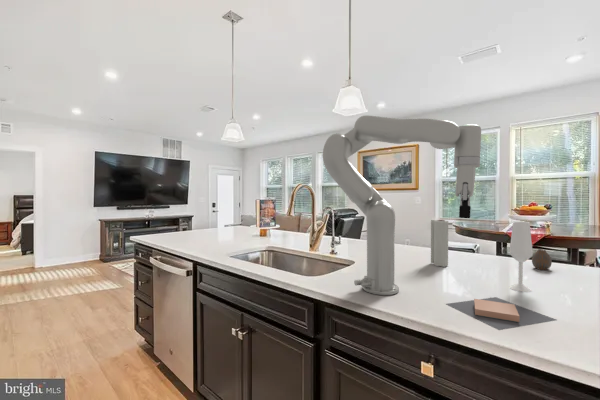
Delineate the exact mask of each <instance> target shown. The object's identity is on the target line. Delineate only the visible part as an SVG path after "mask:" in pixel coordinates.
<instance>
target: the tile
mask: <svg viewBox="0 0 600 400" xmlns="http://www.w3.org/2000/svg"><path fill="white" fill-rule="evenodd" d="M480 299H481V298H480ZM480 299H477V298H473V300H474V308H475V315H478V316H484V317H490V318H496V319H501V320H507V321H513V322H519V314H518V311H517V309H516V307H515V305H514V304H515V303H513V304H507V303H501V302H494V301H487V300H480Z"/></svg>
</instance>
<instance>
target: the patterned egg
mask: <svg viewBox="0 0 600 400" xmlns="http://www.w3.org/2000/svg"><path fill="white" fill-rule="evenodd" d="M531 264H532V266H533V267H534V268H535V269H536V268H537V270H541V271H547V270H548V269H550V268H551V266H552V257H551V256H550V254H549V253H548V252H547V251H546V249H543V248H538V250H537V251H535V252H534V253H533V255H532V256H531Z"/></svg>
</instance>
